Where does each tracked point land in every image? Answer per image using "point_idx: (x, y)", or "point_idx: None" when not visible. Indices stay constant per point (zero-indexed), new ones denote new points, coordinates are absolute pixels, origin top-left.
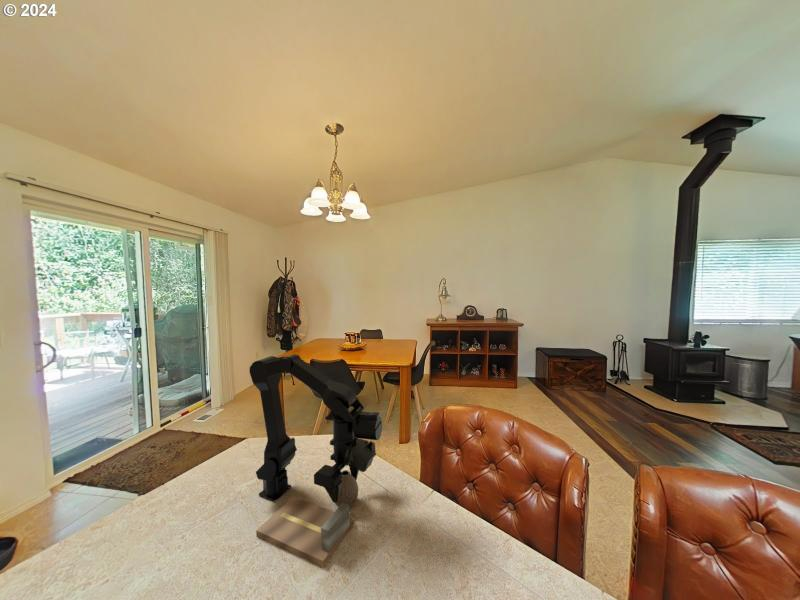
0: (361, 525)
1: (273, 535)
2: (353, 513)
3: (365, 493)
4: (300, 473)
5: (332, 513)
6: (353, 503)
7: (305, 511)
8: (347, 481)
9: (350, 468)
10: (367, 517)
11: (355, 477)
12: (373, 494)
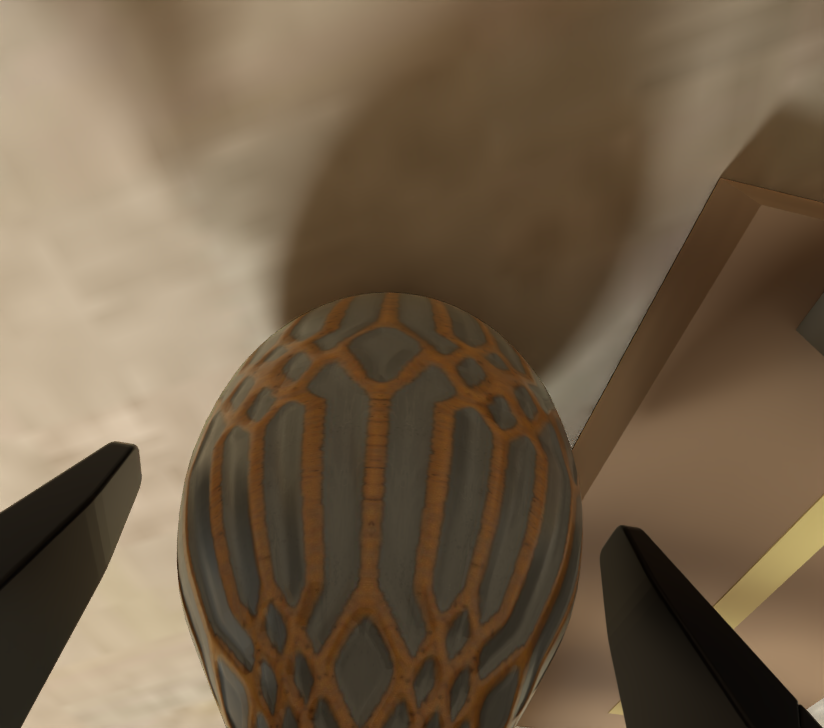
0: (748, 66)
1: (809, 694)
2: (528, 252)
3: (150, 212)
4: (188, 720)
5: (635, 468)
6: (461, 310)
7: (597, 633)
8: (482, 683)
9: (33, 686)
10: (597, 16)
11: (108, 492)
12: (110, 76)
